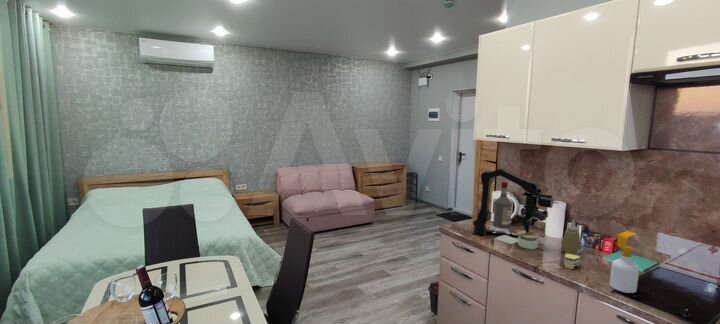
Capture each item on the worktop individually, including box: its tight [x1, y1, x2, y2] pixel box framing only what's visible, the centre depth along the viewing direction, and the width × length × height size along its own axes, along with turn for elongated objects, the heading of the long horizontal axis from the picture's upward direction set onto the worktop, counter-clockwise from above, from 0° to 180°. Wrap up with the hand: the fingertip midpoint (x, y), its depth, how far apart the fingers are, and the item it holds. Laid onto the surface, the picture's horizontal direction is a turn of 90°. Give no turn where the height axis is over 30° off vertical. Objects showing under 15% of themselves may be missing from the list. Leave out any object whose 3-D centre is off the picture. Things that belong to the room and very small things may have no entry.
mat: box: [493, 234, 518, 245], centre depth 198 cm, size 11×11×1 cm
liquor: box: [492, 181, 513, 229], centre depth 222 cm, size 9×9×30 cm
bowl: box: [517, 235, 540, 250], centre depth 188 cm, size 10×10×5 cm
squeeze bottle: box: [561, 219, 581, 255], centre depth 178 cm, size 8×8×18 cm
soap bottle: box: [609, 230, 640, 294], centre depth 140 cm, size 9×9×25 cm
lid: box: [517, 225, 540, 239], centre depth 187 cm, size 11×11×6 cm
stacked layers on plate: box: [563, 253, 580, 270], centre depth 162 cm, size 10×9×6 cm
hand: (528, 231), depth 187 cm, fingers closed on lid, 3 cm apart
